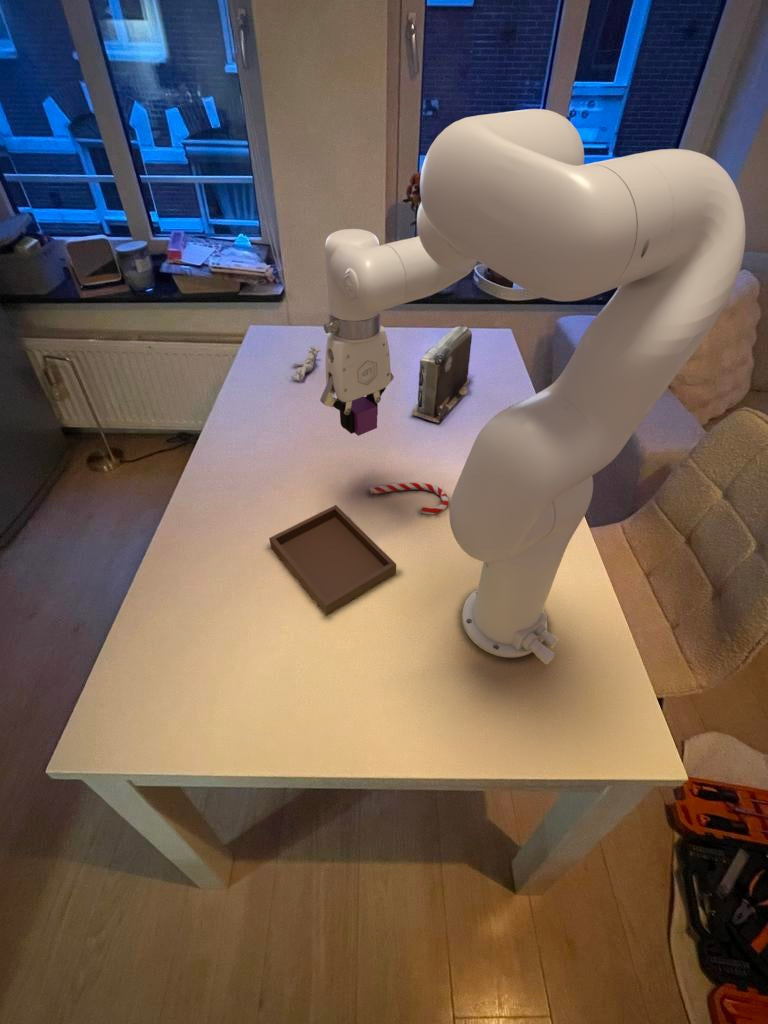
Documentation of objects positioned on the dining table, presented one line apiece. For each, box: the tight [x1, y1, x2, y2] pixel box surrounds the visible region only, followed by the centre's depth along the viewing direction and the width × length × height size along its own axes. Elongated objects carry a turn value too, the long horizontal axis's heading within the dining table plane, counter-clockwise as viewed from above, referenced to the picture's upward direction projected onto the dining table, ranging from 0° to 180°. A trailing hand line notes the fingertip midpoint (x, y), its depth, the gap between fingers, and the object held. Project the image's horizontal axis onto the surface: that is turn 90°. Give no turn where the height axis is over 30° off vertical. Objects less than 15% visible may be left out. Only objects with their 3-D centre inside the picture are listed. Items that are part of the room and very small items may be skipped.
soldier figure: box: [290, 345, 321, 382], centre depth 133 cm, size 8×5×12 cm
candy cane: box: [369, 482, 449, 515], centre depth 99 cm, size 8×1×15 cm
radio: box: [411, 324, 473, 423], centre depth 120 cm, size 23×9×15 cm, turn 146°
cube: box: [351, 396, 378, 437], centre depth 90 cm, size 5×4×4 cm
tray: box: [268, 504, 397, 616], centre depth 88 cm, size 18×14×2 cm
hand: (359, 424), depth 91 cm, fingers closed on cube, 4 cm apart
